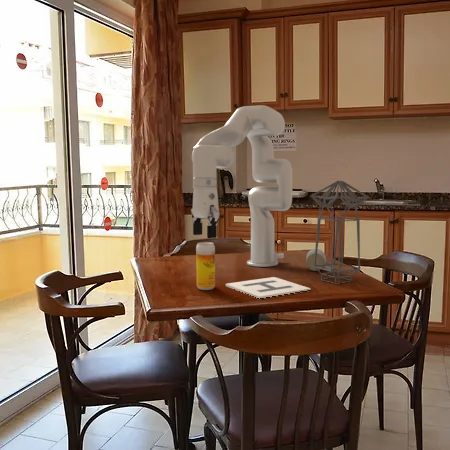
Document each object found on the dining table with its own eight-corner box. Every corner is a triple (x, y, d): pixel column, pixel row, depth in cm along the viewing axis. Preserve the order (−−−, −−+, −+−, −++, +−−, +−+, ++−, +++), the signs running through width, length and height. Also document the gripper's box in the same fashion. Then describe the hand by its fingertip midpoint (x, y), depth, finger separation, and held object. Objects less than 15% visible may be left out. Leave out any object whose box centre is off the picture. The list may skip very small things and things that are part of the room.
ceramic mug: (305, 271, 199) (306, 251, 198) (306, 267, 207) (306, 248, 206) (334, 273, 198) (335, 252, 197) (333, 268, 206) (334, 249, 205)
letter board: (274, 279, 187) (274, 276, 186) (310, 290, 169) (310, 288, 169) (225, 286, 177) (225, 283, 176) (259, 299, 159) (259, 296, 159)
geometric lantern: (305, 279, 186) (307, 180, 183) (338, 275, 194) (341, 180, 191) (335, 287, 173) (338, 180, 170) (370, 283, 181) (373, 181, 178)
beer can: (212, 290, 170) (212, 244, 169) (194, 289, 172) (194, 244, 170) (216, 286, 176) (216, 242, 175) (199, 285, 178) (198, 241, 176)
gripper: (228, 184, 164) (228, 238, 166) (202, 183, 179) (202, 233, 181) (207, 184, 160) (207, 240, 162) (182, 183, 175) (182, 234, 177)
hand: (204, 236), depth 171 cm, fingers open, 9 cm apart
